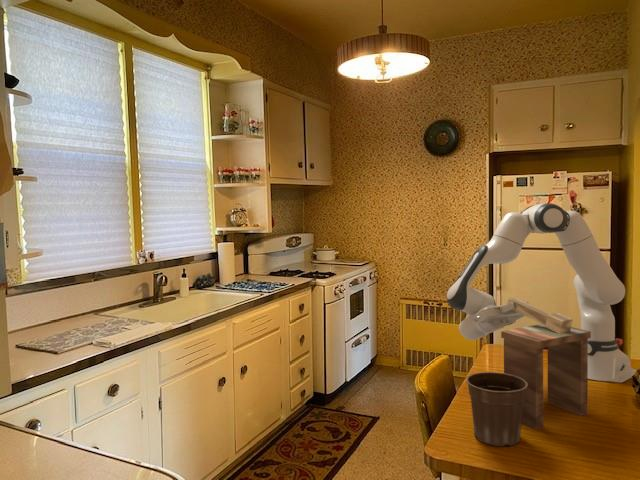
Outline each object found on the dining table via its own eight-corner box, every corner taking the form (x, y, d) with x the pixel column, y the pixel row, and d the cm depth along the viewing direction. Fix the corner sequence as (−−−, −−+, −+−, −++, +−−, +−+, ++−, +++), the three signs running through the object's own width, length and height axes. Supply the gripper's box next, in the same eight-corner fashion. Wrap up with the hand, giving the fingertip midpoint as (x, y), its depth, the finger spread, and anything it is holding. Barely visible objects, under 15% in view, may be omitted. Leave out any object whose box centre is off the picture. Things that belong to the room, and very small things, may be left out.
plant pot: (474, 420, 149) (473, 368, 148) (531, 430, 141) (531, 376, 140) (460, 443, 135) (459, 385, 134) (523, 456, 127) (523, 395, 126)
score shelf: (551, 399, 162) (551, 322, 161) (590, 415, 150) (590, 331, 148) (501, 413, 153) (501, 331, 152) (538, 430, 140) (538, 341, 139)
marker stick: (514, 305, 166) (517, 294, 165) (570, 331, 149) (572, 319, 148) (504, 307, 164) (506, 296, 163) (559, 333, 146) (561, 321, 145)
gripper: (466, 312, 170) (491, 298, 159) (510, 306, 178) (537, 292, 167) (472, 330, 167) (499, 317, 156) (517, 322, 176) (545, 309, 165)
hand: (519, 304), depth 162 cm, fingers closed on marker stick, 3 cm apart
